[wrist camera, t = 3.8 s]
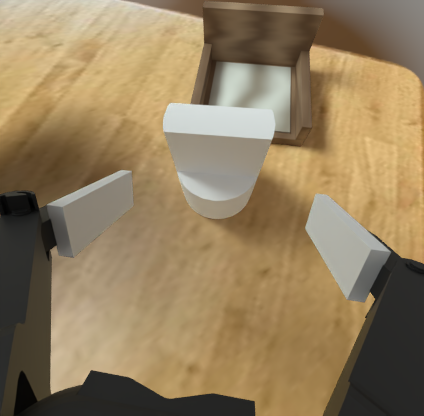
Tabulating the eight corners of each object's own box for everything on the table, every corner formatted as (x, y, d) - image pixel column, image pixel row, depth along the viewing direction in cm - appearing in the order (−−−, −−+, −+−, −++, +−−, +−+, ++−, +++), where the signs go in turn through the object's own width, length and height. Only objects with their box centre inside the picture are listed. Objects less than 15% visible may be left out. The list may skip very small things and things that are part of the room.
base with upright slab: (178, 215, 27) (152, 164, 16) (188, 156, 30) (172, 77, 19) (250, 222, 26) (275, 173, 15) (252, 160, 30) (275, 83, 18)
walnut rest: (190, 134, 31) (182, 84, 24) (206, 60, 37) (204, 0, 29) (300, 146, 30) (329, 97, 23) (300, 68, 36) (323, 8, 28)
